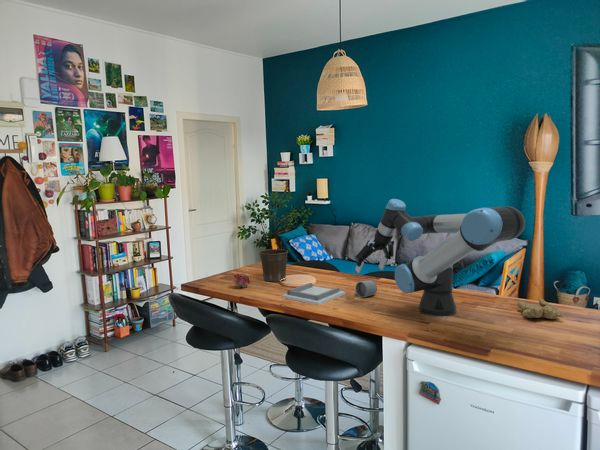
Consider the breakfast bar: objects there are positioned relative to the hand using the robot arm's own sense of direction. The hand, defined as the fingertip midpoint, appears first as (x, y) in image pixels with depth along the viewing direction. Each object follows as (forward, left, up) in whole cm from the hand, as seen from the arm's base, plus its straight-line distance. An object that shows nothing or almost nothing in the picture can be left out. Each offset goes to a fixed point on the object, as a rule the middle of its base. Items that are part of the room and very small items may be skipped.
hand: (369, 269), depth 206 cm
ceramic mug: (+8, -3, -15) cm, 17 cm away
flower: (+56, +39, -15) cm, 70 cm away
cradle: (+21, +17, -14) cm, 31 cm away
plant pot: (+61, +17, -15) cm, 65 cm away
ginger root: (-58, -39, -15) cm, 71 cm away
